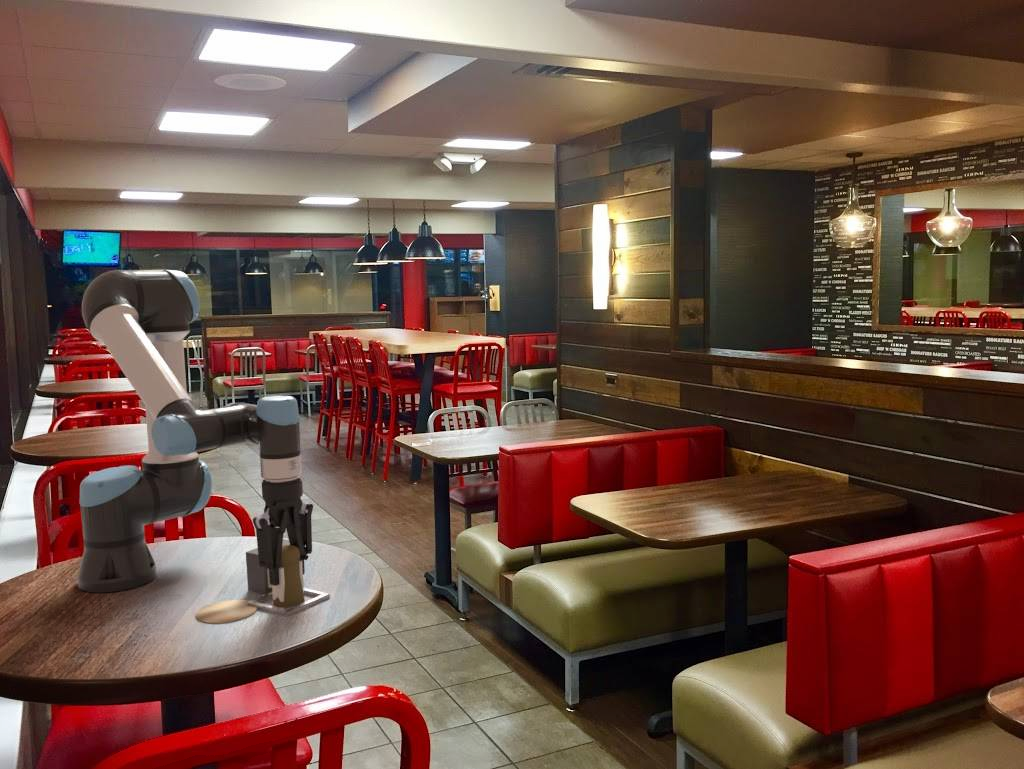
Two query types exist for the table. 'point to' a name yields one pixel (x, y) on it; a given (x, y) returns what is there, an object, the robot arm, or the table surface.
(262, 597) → the taupe square frame
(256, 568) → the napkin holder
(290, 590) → the pepper shaker
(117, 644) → the table surface
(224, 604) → the tan round coaster
